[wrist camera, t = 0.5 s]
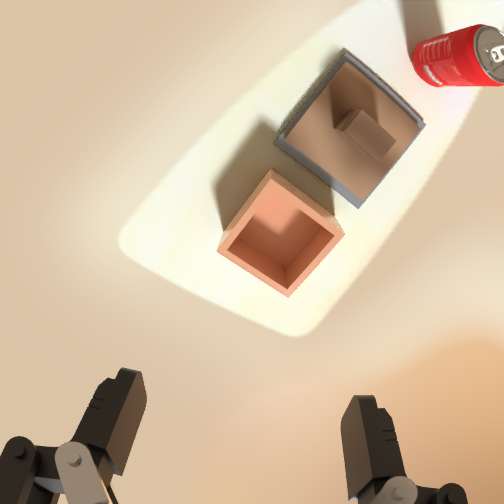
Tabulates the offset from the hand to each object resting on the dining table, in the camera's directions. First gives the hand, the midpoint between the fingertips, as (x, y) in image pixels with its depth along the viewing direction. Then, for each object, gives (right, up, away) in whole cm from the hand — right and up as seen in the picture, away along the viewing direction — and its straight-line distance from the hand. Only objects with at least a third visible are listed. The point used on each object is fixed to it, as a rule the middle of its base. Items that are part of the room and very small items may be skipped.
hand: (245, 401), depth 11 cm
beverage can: (+19, +25, +14) cm, 35 cm away
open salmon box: (+3, +8, +23) cm, 25 cm away
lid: (+10, +17, +18) cm, 27 cm away
